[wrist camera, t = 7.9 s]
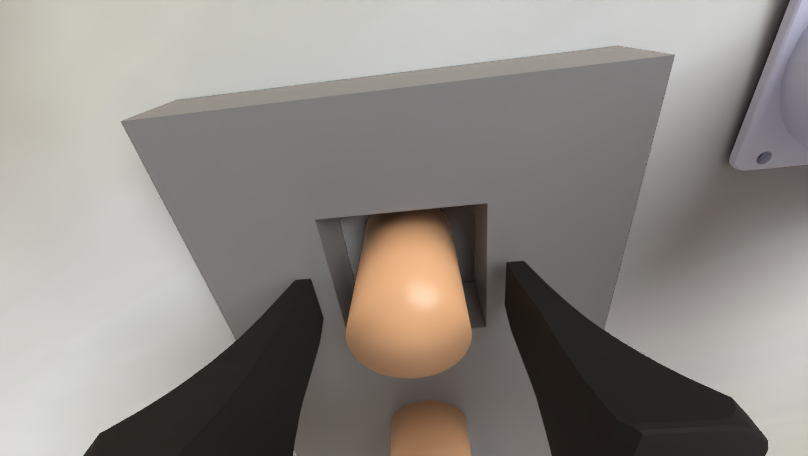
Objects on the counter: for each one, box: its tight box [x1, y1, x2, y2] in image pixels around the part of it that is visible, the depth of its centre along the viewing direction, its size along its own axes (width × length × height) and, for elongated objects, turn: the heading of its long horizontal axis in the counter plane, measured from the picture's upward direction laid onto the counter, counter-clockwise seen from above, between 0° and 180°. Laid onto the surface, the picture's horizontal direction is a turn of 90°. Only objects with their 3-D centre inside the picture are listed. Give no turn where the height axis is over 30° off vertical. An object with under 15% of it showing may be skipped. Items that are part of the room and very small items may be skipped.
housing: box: [121, 46, 675, 456], centre depth 16 cm, size 16×24×6 cm, turn 7°
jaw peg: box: [346, 208, 472, 378], centre depth 14 cm, size 4×4×6 cm
